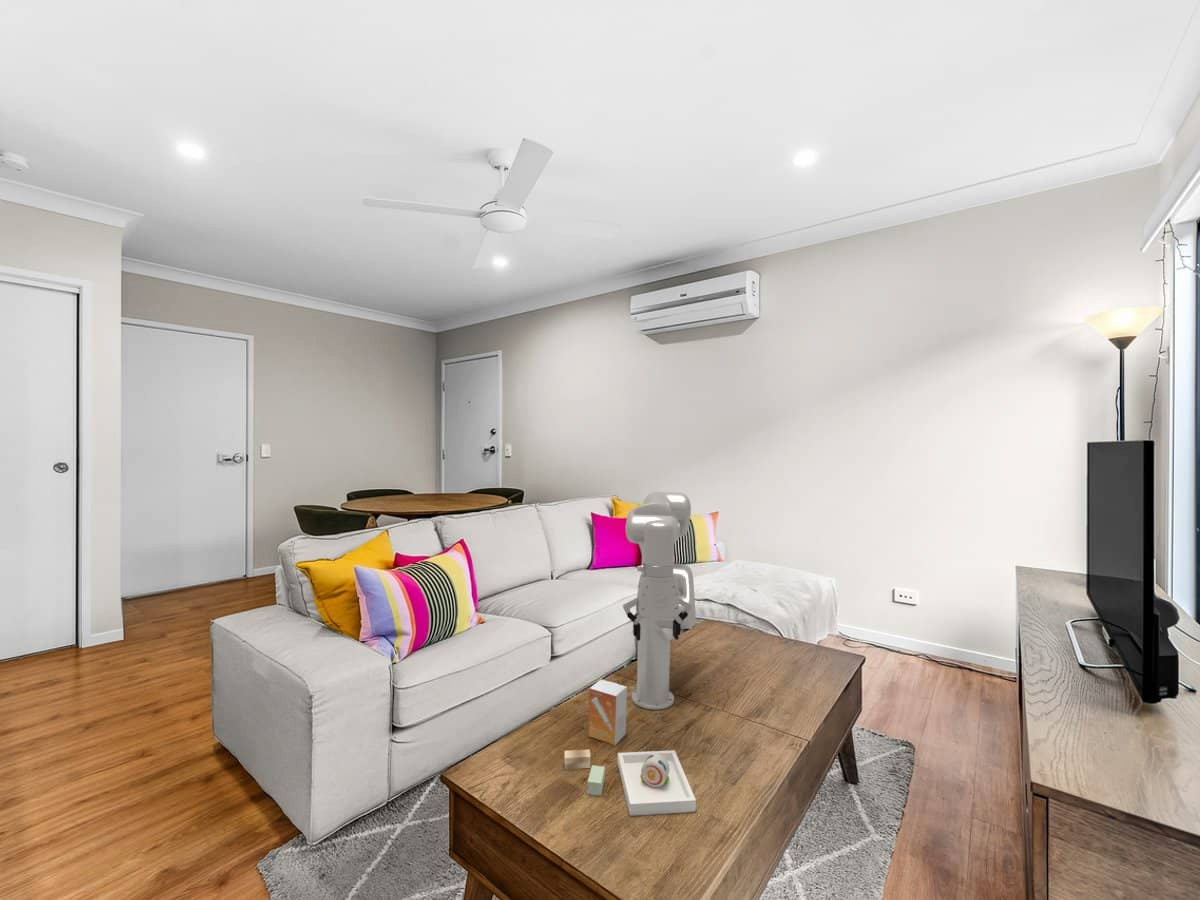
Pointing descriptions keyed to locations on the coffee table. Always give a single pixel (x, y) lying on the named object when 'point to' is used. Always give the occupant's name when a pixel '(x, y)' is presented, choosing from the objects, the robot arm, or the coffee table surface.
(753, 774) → the coffee table surface
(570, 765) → the maple block
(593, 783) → the sage block
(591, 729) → the small box
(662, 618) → the robot arm
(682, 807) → the tray
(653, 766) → the roller toy
